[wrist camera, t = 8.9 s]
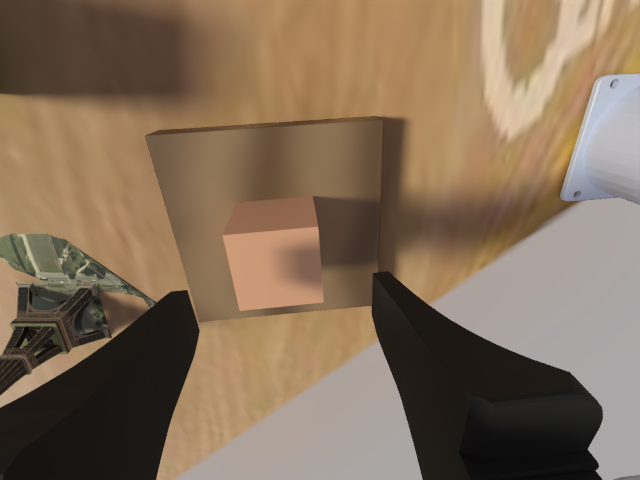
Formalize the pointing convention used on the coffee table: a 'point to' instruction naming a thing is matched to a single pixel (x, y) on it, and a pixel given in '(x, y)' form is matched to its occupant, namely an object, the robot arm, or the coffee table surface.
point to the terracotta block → (274, 253)
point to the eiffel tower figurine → (54, 302)
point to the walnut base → (267, 184)
